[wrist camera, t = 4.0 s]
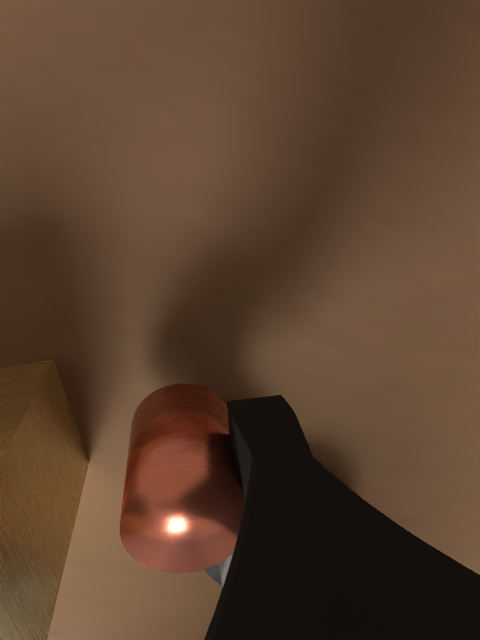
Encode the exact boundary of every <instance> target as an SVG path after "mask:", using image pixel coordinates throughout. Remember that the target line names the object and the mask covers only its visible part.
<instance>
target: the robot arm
mask: <svg viewBox="0 0 480 640" xmlns="http://www.w3.org/2000/svg"><path fill="white" fill-rule="evenodd" d="M227 407H228V426H229V437H230V442H231V446H232V451H233V456H234V460H235V465H236V469H237V472H238V475H239V479H240V482H241V485H242V488H243V494H244V512H243V516H242V521H241V525H240V529H239V533H238V537H237V541H236V545H235V548H234V552H233V555H232V559H231V562H230V565H229V569H228V572H227V575H226V579H225V582H224V585H223V589H222V592H221V595H220V598H219V601H218V604H217V607H216V610H215V612H214V615H213V618H212V620H211V623H210V626H209V629H208V631H207V634H206V637H205V639H204V640H480V575H479V574H477V573H475V572H474V571H472V570H470V569H468V568H467V567H465V566H463V565H462V564H460V563H458V562H457V561H455V560H453V559H452V558H450V557H448V556H447V555H445V554H444V553H442V552H440V551H439V550H437V549H435V548H434V547H432V546H430V545H429V544H427V543H426V542H424V541H422V540H421V539H419V538H418V537H416V536H415V535H413V534H412V533H410V532H409V531H407V530H405V529H404V528H402V527H401V526H399V525H398V524H397V523H395V522H394V521H392V520H391V519H390V518H388V517H387V516H385V515H384V514H383V513H381V512H380V511H378V510H377V509H376V508H374V507H373V506H371V505H370V504H369V503H367V502H366V501H365V500H363V499H362V498H361V497H360V496H358V495H357V494H356V493H355V492H353V491H352V490H351V489H350V488H348V487H347V486H346V485H345V484H344V483H342V482H341V481H340V480H339V479H338V478H337V477H335V476H334V475H333V474H332V473H331V472H329V471H328V470H327V469H326V468H325V467H324V466H323V465H322V464H321V463H319V462H318V461H317V460H316V459H315V458H314V457H313V456H312V453H311V451H310V448H309V446H308V443H307V441H306V439H305V436H304V434H303V431H302V429H301V427H300V424H299V422H298V419H297V417H296V415H295V413H294V411H293V409H292V408H291V407H290V405H289V404H288V403H287V401H286V400H285V399H284V398H283V397H282V396H281V395H277V396H268V397H260V398H251V399H242V400H234V401H227Z"/></svg>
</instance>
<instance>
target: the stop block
mask: <svg viewBox="0 0 480 640" xmlns="http://www.w3.org/2000/svg"><path fill="white" fill-rule="evenodd" d="M88 465H89V462H88V459H87V456H86V453H85V450H84V447H83V444H82V441H81V438H80V435H79V432H78V429H77V426H76V423H75V420H74V417H73V414H72V411H71V408H70V405H69V402H68V400H67V397H66V394H65V391H64V388H63V385H62V382H61V379H60V376H59V373H58V370H57V367H56V364H55V361H54V359H49V360H43V361H38V362H32V363H27V364H21V365H16V366H10V367H4V368H0V640H47V637H48V633H49V629H50V624H51V620H52V616H53V612H54V608H55V603H56V599H57V595H58V591H59V586H60V582H61V578H62V574H63V570H64V565H65V561H66V557H67V553H68V549H69V544H70V540H71V536H72V532H73V528H74V523H75V519H76V515H77V511H78V507H79V502H80V498H81V494H82V490H83V486H84V481H85V477H86V473H87V469H88Z"/></svg>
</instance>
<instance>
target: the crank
mask: <svg viewBox="0 0 480 640" xmlns="http://www.w3.org/2000/svg"><path fill="white" fill-rule="evenodd" d="M243 512H244V494H243V488H242V485H241V482H240V479H239V475H238V472H237V469H236V465H235V460H234V456H233V451H232V446H231V442H230V437H229V426H228V409H227V406H226V405H225V403H224V402H223V400H222V399H221V398H220V397H219V396H218V395H217V394H215V393H214V392H213V391H211V390H209V389H207V388H205V387H202V386H199V385H195V384H174V385H169V386H166V387H163V388H160V389H158V390H156V391H154V392H153V393H151V394H150V395H149V396H147V397H146V398H145V399H144V400H143V401H142V402H141V403H140V405H139V406H138V408H137V409H136V411H135V413H134V416H133V420H132V426H131V435H130V444H129V452H128V461H127V470H126V478H125V487H124V495H123V504H122V513H121V521H120V536H121V540H122V543H123V545H124V547H125V548H126V550H127V552H128V553H129V554H130V555H131V556H132V557H133V558H134V559H135V560H137V561H138V562H140V563H141V564H143V565H145V566H147V567H149V568H152V569H155V570H158V571H163V572H171V573H185V572H193V571H198V570H202V569H205V568H208V567H211V566H213V565H216V564H218V563H219V566H220V574H221V582H222V589H223V585H224V582H225V579H226V575H227V572H228V569H229V565H230V562H231V559H232V555H233V552H234V548H235V545H236V541H237V537H238V533H239V529H240V525H241V521H242V516H243Z"/></svg>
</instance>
